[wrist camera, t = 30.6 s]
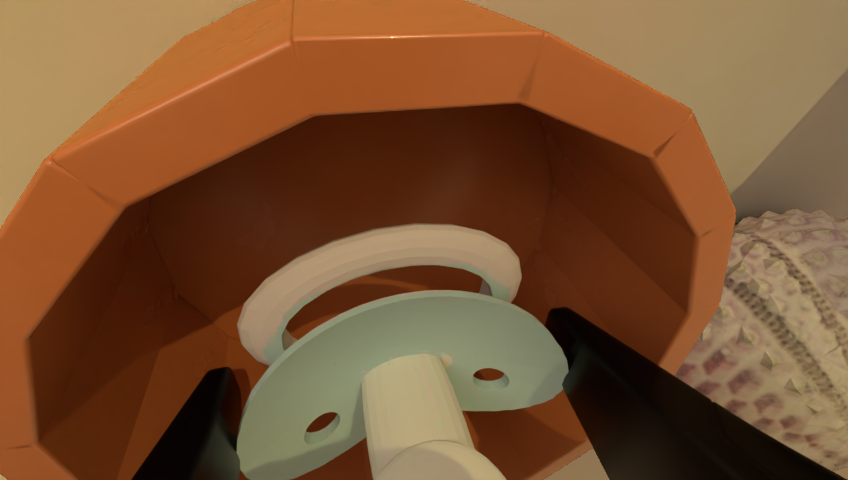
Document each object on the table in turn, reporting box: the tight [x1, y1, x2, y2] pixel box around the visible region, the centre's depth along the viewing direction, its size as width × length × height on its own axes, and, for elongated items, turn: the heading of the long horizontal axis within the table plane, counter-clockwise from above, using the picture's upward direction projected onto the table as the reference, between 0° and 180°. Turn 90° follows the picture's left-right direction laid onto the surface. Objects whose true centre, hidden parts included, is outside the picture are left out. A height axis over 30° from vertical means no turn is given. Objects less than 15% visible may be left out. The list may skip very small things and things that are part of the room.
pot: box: [0, 0, 737, 480], centre depth 11 cm, size 14×14×6 cm
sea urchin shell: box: [675, 209, 848, 471], centre depth 18 cm, size 13×14×8 cm
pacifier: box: [236, 223, 569, 480], centre depth 8 cm, size 7×6×6 cm
